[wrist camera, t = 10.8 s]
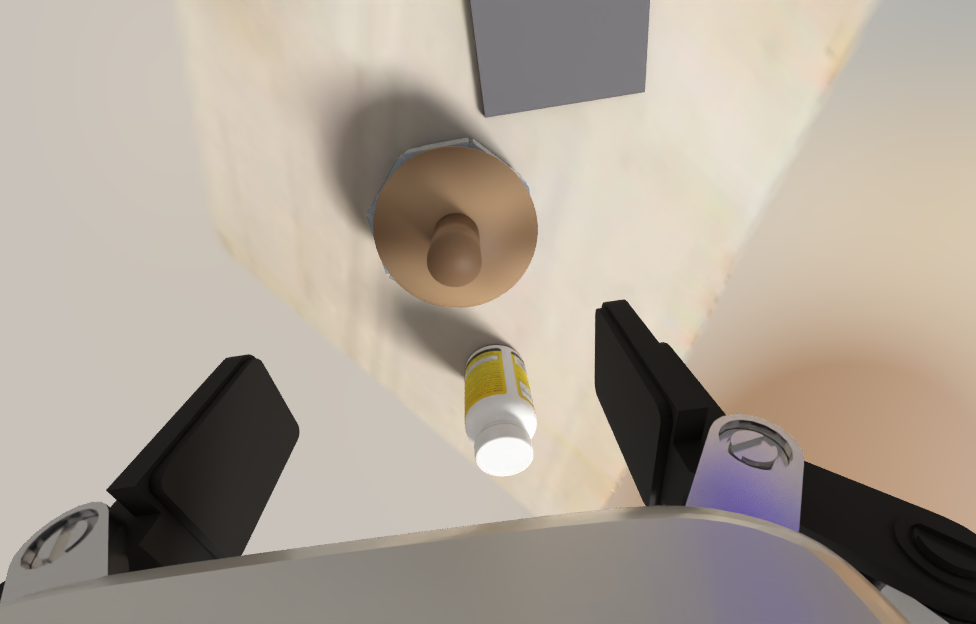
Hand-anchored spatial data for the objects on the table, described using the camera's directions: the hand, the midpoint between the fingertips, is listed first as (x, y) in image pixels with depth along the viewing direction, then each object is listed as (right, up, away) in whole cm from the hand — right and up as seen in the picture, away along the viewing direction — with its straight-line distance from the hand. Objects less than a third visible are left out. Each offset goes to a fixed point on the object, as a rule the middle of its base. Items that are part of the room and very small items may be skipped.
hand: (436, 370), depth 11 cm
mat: (+5, +19, +11) cm, 23 cm away
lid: (-1, +7, +13) cm, 15 cm away
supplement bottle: (+2, -3, +23) cm, 24 cm away
